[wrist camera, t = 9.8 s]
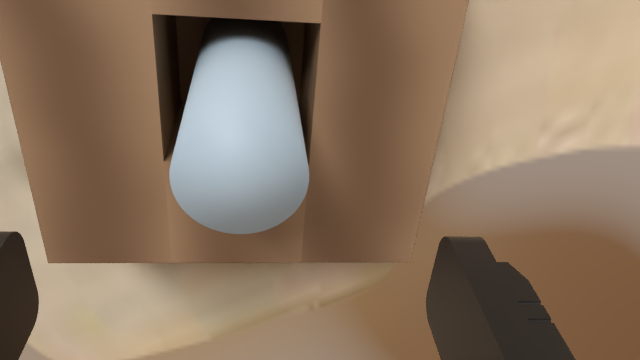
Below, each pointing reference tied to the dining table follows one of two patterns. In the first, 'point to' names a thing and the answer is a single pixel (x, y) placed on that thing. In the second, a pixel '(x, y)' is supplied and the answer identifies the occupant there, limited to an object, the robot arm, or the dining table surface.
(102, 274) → the dining table surface
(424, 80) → the socket block
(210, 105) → the dowel
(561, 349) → the robot arm
